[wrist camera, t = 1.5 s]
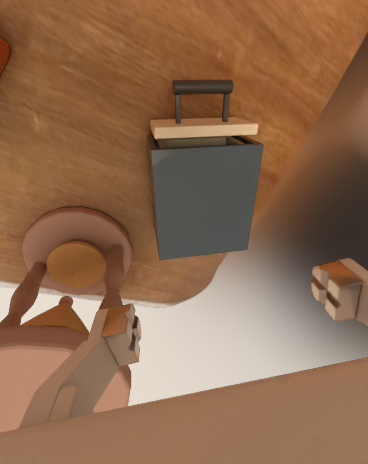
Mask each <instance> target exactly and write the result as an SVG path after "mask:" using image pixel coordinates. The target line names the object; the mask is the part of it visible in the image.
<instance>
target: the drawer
mask: <svg viewBox="0 0 368 464" xmlns="http://www.w3.org/2000/svg"><path fill="white" fill-rule="evenodd" d="M172 88H173V94H175V119H160V120H150V127H151V131H152V133H153V136H154V138H155V139H157V148H175V147H195V146H215V145H235V144H245V143H243V142H241V141H239V140H237V139H235V138H233V137H231V136H234V135H257V130H258V124H257V123H254V122H250V121H247V120H243V119H240V118H236V117H228V111H229V98H230V93H232V90H233V81H232V80H173V84H172ZM180 94H224V98H223V114H222V118H191V119H181V96H180ZM211 136H216V137H211ZM189 137H193V138H189ZM166 138H170V139H166Z"/></svg>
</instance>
